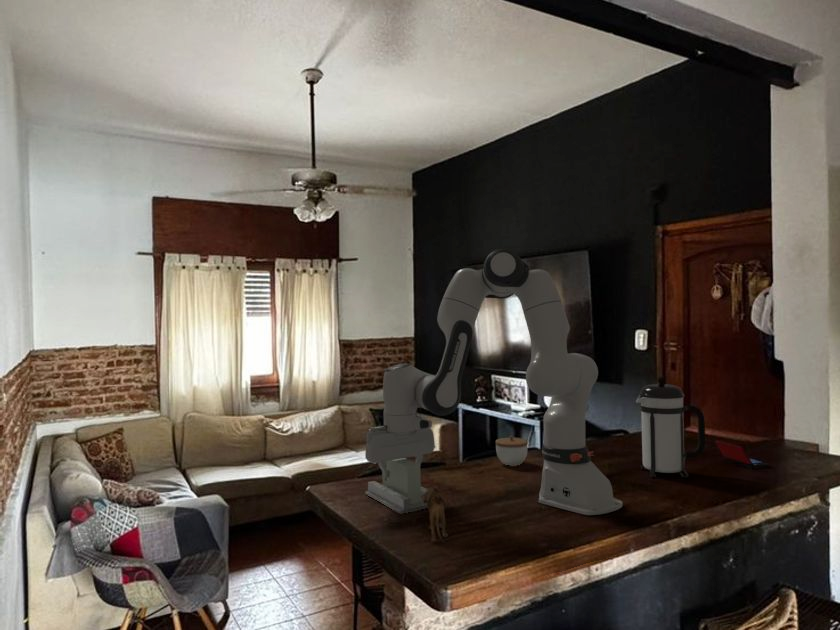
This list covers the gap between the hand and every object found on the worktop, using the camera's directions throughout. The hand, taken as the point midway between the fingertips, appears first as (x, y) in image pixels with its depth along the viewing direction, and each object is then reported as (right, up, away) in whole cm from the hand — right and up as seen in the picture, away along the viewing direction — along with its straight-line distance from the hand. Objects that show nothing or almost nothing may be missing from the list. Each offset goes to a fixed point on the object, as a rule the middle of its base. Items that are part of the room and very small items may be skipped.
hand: (401, 474), depth 159 cm
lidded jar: (+36, -7, +37) cm, 52 cm away
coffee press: (+82, -6, +22) cm, 85 cm away
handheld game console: (+110, -6, +31) cm, 115 cm away
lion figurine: (+9, -7, -23) cm, 26 cm away
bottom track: (0, -7, 0) cm, 7 cm away
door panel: (0, -6, +1) cm, 6 cm away
